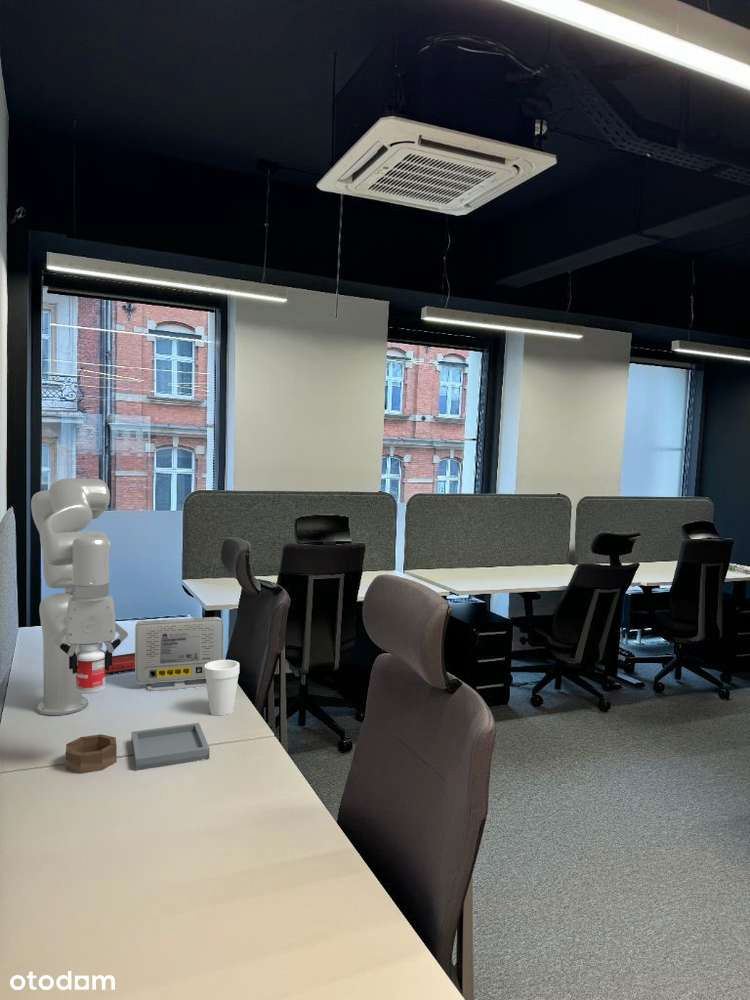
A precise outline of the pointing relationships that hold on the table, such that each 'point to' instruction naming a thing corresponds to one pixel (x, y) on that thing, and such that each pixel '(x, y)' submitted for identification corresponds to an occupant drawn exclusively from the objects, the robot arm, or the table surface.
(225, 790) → the table surface
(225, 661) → the foam cup
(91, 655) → the pill bottle
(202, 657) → the network device
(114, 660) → the binder
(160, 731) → the tray
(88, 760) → the holder ring
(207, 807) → the table surface
